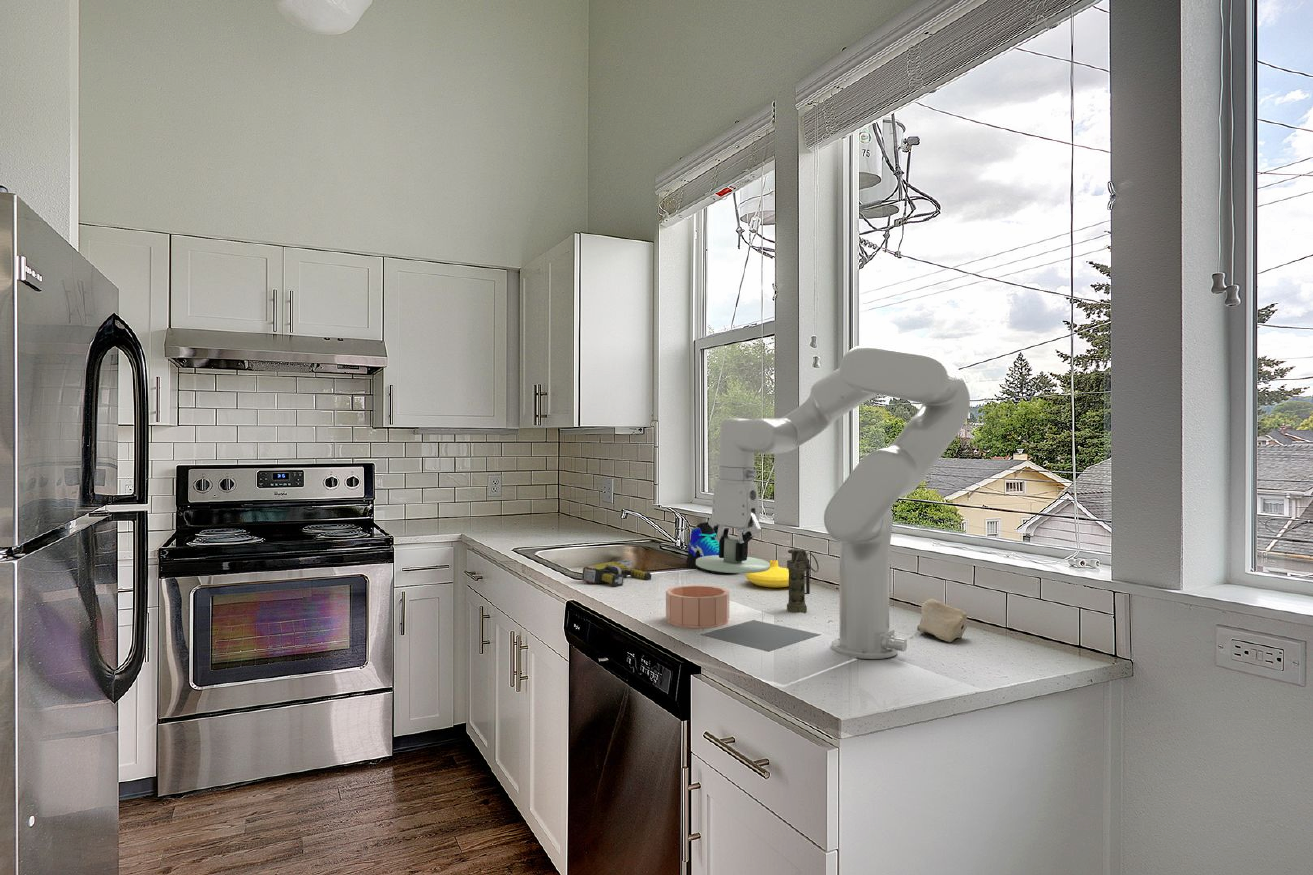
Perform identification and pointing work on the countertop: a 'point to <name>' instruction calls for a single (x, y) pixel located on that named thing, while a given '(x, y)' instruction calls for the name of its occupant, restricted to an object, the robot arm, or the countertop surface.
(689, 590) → the bowl
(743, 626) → the mat
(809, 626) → the countertop surface
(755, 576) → the vase
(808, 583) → the grenade
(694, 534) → the sneaker
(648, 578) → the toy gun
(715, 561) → the lid
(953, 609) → the decorative stone
